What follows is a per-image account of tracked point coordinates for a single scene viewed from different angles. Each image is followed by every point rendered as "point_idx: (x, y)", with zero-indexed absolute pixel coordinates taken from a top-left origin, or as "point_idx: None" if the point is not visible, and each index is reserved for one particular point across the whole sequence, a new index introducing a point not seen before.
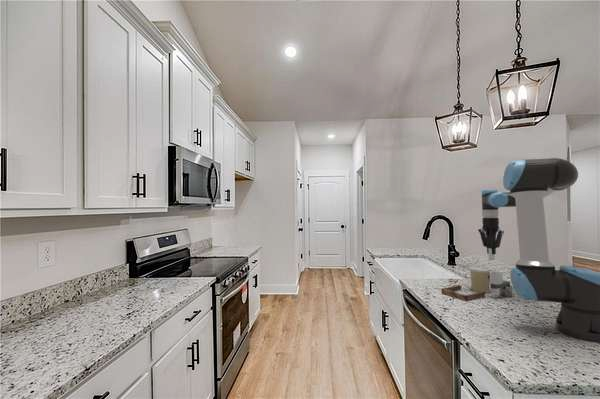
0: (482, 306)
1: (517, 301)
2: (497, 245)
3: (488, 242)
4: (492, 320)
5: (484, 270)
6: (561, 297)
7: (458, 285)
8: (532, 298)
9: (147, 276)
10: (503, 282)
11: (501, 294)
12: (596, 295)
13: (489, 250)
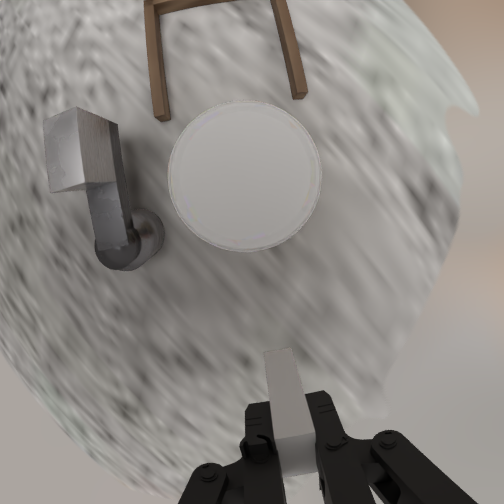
0: (87, 32)
1: (73, 209)
2: (186, 495)
3: (331, 502)
4: (21, 6)
5: (175, 153)
6: None
7: (300, 78)
8: None
9: None
10: (99, 213)
11: (142, 209)
12: None
13: (296, 415)
